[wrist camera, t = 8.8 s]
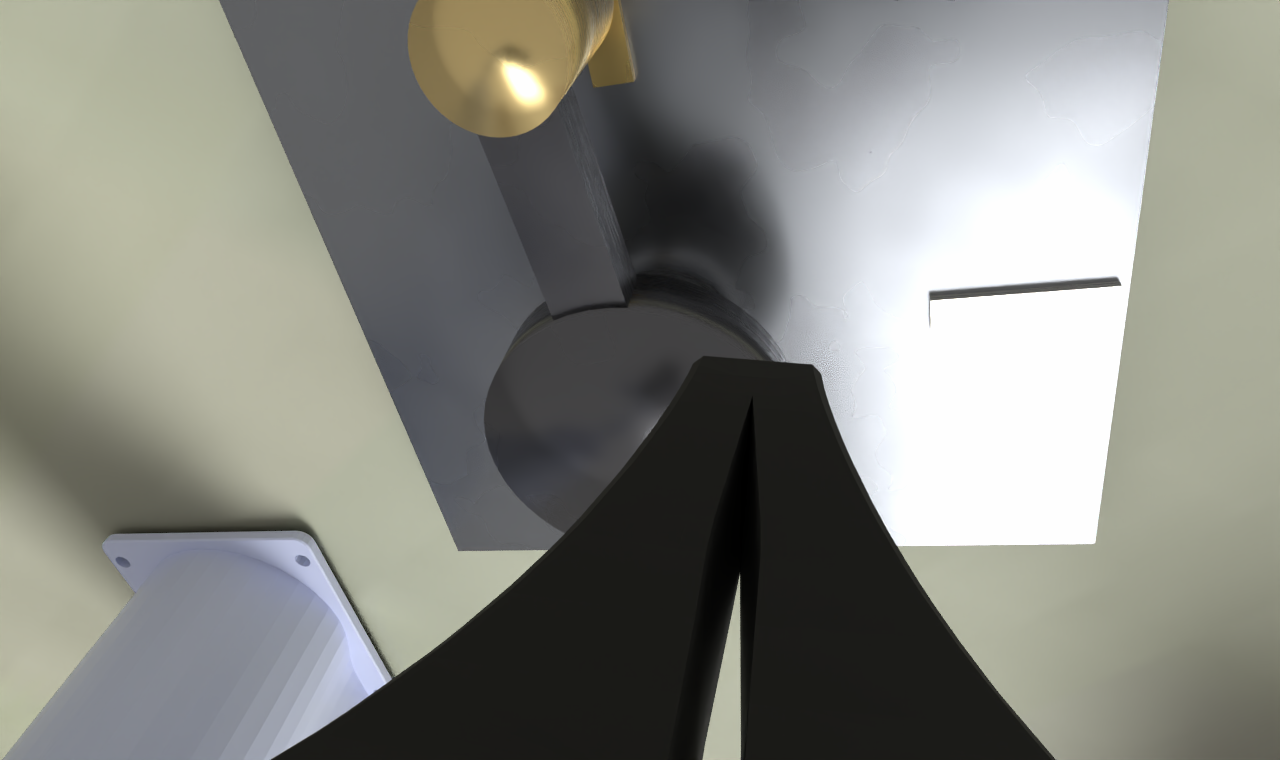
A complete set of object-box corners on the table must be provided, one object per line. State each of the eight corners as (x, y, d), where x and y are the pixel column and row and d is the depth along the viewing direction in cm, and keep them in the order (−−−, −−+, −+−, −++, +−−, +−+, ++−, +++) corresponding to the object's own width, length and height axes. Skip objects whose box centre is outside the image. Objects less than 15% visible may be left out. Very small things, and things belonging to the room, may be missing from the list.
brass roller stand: (823, 433, 20) (822, 544, 18) (582, 462, 22) (546, 567, 19) (692, -129, 14) (660, -94, 11) (372, -25, 16) (276, 27, 13)
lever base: (1083, 509, 23) (1120, 622, 20) (471, 521, 27) (429, 616, 24) (1185, -323, 13) (1284, -338, 10) (214, -103, 17) (93, -70, 14)
